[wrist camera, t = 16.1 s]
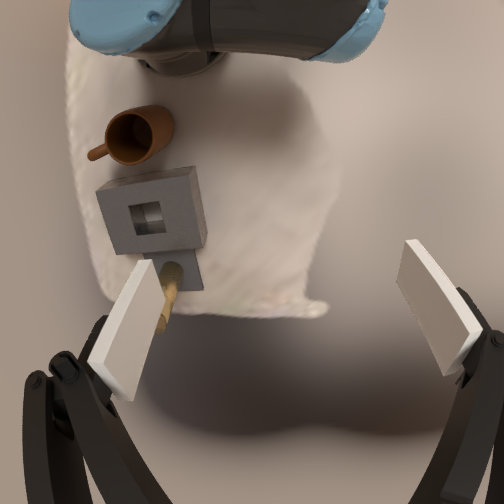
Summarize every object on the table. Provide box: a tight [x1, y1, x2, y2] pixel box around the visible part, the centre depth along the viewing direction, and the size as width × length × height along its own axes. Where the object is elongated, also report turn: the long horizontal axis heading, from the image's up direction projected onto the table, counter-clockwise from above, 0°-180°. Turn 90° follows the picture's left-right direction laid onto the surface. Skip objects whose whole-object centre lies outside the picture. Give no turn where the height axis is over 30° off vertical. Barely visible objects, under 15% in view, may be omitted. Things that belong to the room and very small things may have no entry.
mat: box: [143, 249, 204, 291], centre depth 53 cm, size 10×10×1 cm
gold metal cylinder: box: [154, 261, 184, 334], centre depth 47 cm, size 4×4×14 cm
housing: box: [95, 166, 207, 255], centre depth 44 cm, size 12×16×5 cm
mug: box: [87, 105, 174, 165], centre depth 35 cm, size 12×8×9 cm, turn 105°
